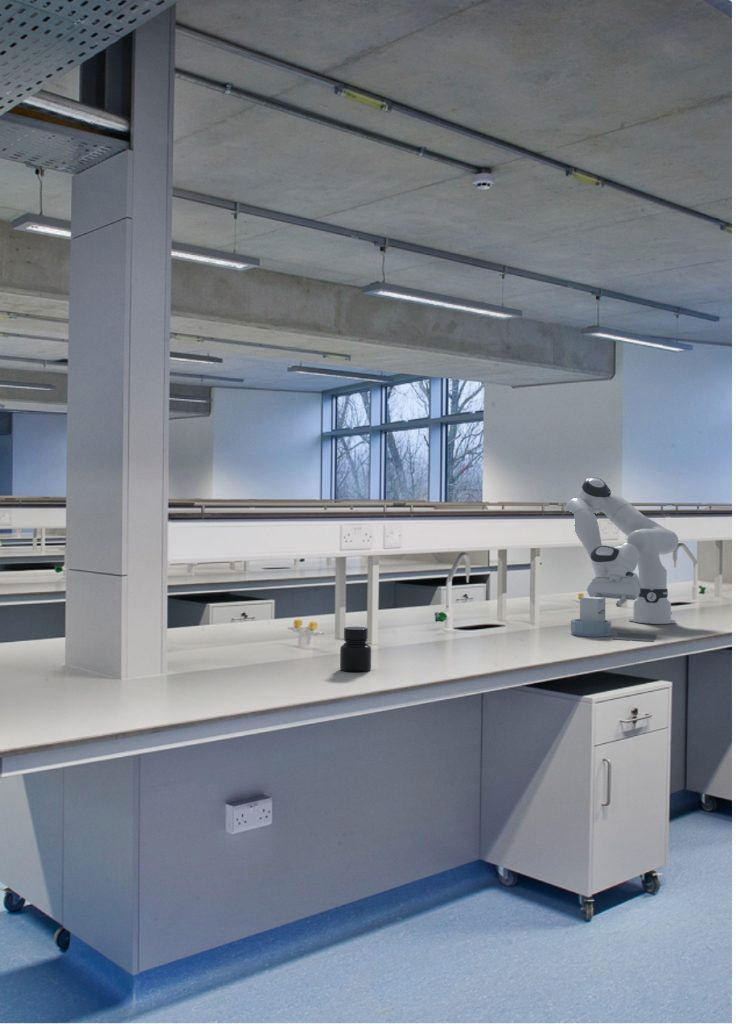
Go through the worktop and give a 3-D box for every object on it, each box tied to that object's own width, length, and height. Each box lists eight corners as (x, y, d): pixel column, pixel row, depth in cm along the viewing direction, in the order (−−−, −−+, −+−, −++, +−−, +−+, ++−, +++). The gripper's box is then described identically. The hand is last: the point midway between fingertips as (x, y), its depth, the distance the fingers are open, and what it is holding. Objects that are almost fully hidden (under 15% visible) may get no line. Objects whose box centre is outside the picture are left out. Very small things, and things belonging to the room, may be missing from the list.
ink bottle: (373, 667, 271) (373, 626, 271) (371, 673, 263) (371, 630, 263) (340, 667, 272) (340, 625, 272) (337, 672, 263) (337, 629, 263)
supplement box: (597, 632, 345) (598, 598, 345) (579, 631, 350) (579, 597, 350) (605, 631, 351) (606, 597, 351) (587, 629, 356) (587, 596, 356)
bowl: (574, 630, 359) (574, 617, 359) (612, 633, 354) (612, 619, 354) (568, 635, 345) (568, 622, 345) (608, 637, 340) (608, 624, 340)
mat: (618, 632, 355) (618, 632, 355) (656, 634, 350) (656, 634, 350) (612, 639, 336) (612, 638, 336) (653, 641, 331) (653, 641, 331)
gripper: (591, 571, 370) (579, 597, 363) (640, 574, 357) (628, 601, 349) (596, 582, 374) (584, 608, 366) (645, 585, 360) (633, 612, 353)
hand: (606, 605), depth 358 cm, fingers open, 8 cm apart
